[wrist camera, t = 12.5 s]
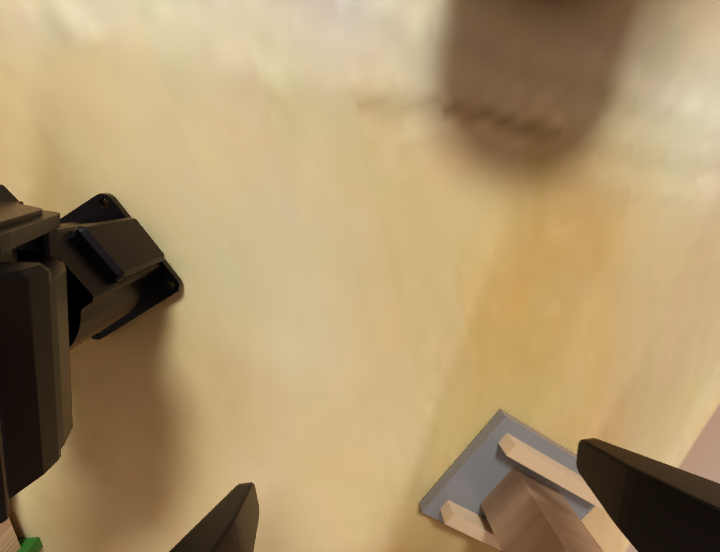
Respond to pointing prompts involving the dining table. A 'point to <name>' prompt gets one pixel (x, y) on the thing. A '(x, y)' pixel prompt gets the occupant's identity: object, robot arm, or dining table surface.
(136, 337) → the dining table surface
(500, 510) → the wooden block
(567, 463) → the grey stand base
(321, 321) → the dining table surface
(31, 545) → the hardback book
